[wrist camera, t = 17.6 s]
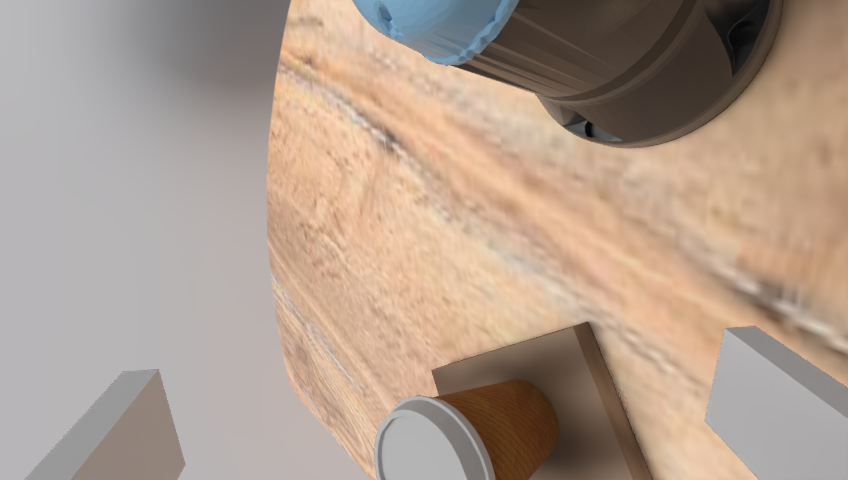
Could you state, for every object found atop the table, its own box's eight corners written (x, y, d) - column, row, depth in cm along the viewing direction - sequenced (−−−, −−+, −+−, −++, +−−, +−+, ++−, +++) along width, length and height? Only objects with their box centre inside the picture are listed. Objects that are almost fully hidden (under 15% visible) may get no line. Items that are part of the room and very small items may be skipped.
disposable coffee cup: (606, 438, 31) (508, 520, 23) (530, 503, 36) (425, 591, 28) (517, 335, 36) (409, 370, 28) (460, 403, 41) (352, 451, 32)
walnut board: (448, 364, 45) (431, 370, 44) (588, 321, 35) (572, 327, 33) (502, 536, 41) (486, 550, 39) (679, 547, 31) (667, 567, 29)
